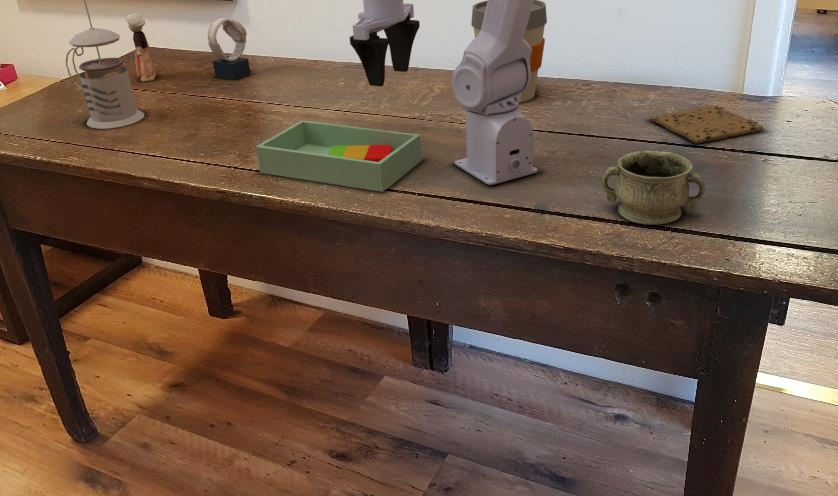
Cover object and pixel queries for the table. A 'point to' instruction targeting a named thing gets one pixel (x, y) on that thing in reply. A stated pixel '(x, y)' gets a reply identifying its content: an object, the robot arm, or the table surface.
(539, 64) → the reusable coffee cup
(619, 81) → the table surface
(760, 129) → the cookie
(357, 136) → the tote
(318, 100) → the table surface
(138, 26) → the grandmother figurine
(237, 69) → the watch
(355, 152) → the popsicle
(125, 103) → the french press
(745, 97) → the table surface
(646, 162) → the vessel
